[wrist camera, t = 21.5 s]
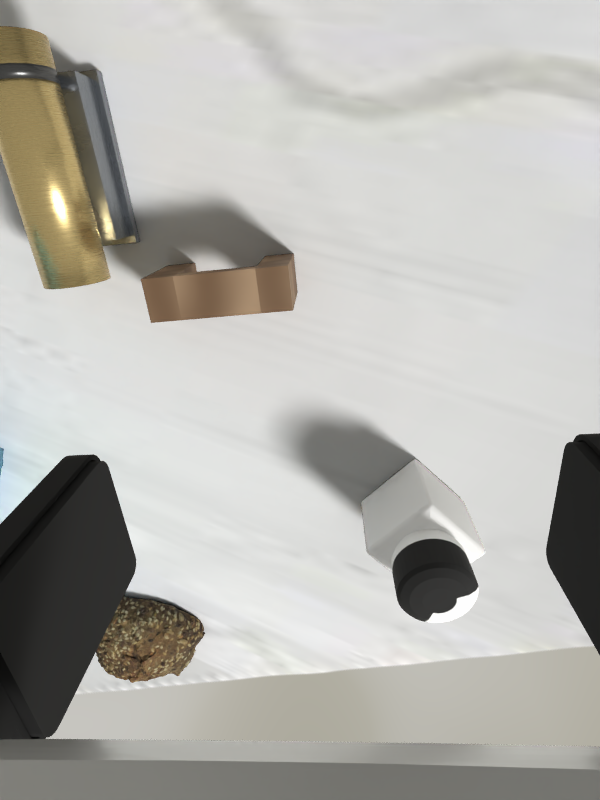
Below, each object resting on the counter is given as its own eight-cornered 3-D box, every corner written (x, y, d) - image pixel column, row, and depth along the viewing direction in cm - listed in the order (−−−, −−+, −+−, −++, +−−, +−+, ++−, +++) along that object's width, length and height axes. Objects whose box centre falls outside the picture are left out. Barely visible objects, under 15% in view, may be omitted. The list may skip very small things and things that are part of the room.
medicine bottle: (359, 501, 46) (370, 600, 35) (414, 456, 43) (445, 547, 32) (408, 542, 47) (434, 648, 36) (464, 500, 45) (510, 601, 34)
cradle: (101, 72, 32) (77, 60, 29) (139, 241, 36) (122, 246, 33) (12, 84, 32) (-21, 73, 29) (61, 249, 37) (37, 255, 34)
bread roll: (105, 580, 52) (85, 618, 47) (212, 611, 53) (202, 650, 49) (88, 653, 57) (68, 693, 53) (186, 679, 58) (174, 721, 54)
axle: (15, 54, 30) (-56, 39, 26) (65, 38, 28) (-4, 20, 25) (79, 276, 36) (28, 289, 32) (124, 275, 34) (76, 288, 30)
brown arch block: (293, 253, 36) (288, 265, 31) (297, 292, 37) (292, 310, 32) (167, 265, 37) (140, 279, 32) (175, 303, 38) (151, 322, 33)
